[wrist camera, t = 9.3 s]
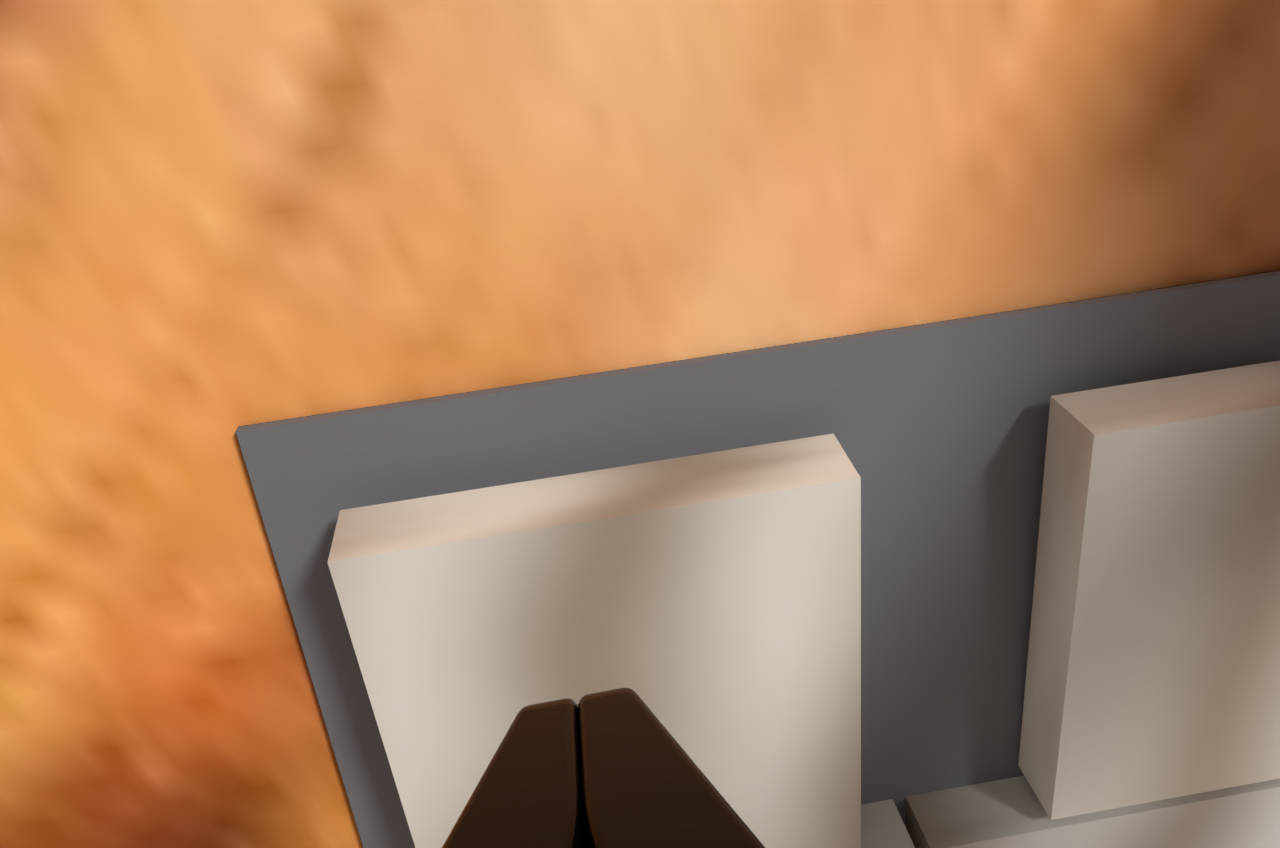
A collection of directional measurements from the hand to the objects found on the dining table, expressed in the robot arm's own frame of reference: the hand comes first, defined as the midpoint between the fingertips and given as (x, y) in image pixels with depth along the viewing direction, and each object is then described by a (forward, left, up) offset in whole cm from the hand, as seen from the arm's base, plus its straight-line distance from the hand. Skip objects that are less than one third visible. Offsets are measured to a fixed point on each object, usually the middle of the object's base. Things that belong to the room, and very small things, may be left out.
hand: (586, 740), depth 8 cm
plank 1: (0, +7, -10) cm, 12 cm away
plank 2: (-13, +7, -10) cm, 18 cm away
